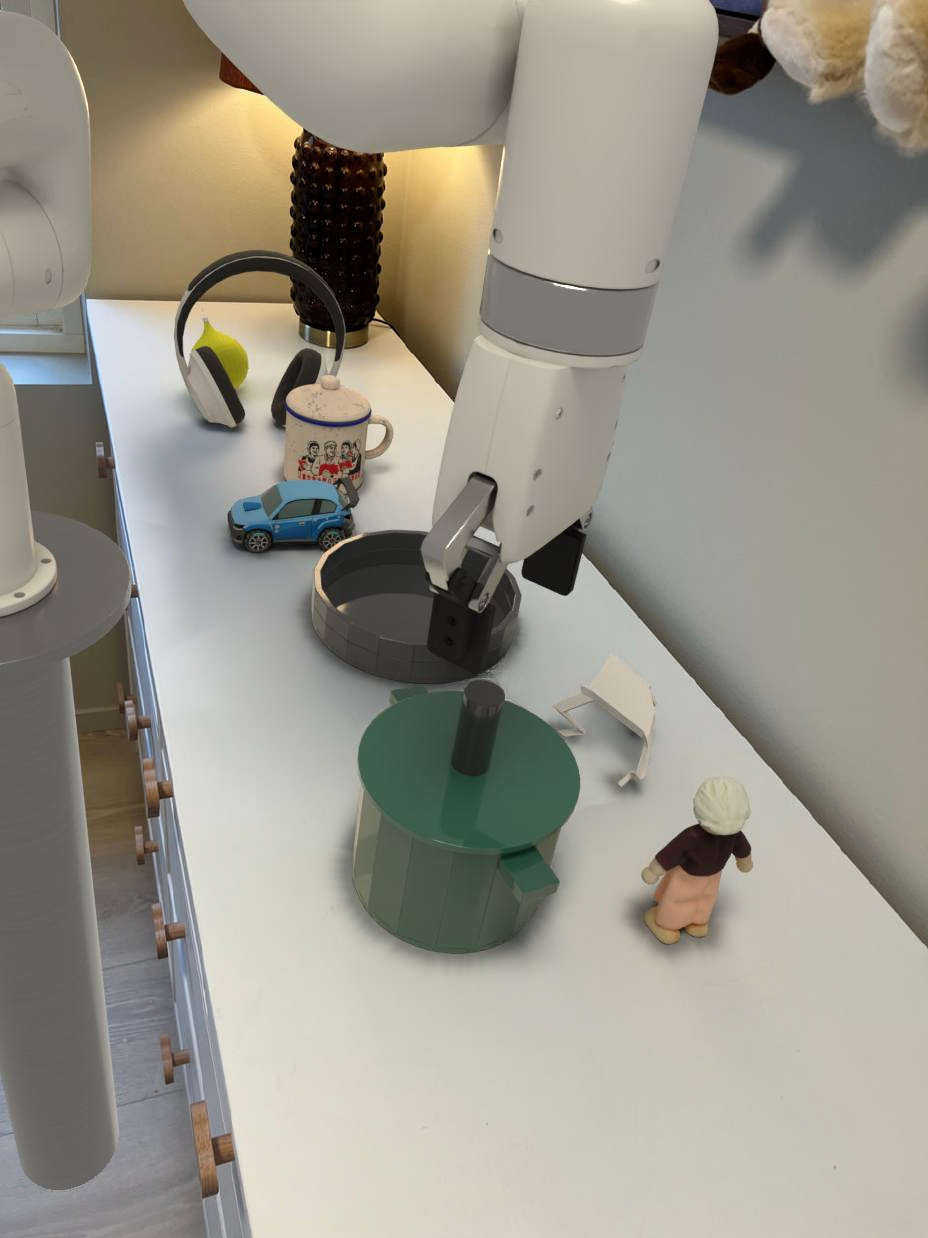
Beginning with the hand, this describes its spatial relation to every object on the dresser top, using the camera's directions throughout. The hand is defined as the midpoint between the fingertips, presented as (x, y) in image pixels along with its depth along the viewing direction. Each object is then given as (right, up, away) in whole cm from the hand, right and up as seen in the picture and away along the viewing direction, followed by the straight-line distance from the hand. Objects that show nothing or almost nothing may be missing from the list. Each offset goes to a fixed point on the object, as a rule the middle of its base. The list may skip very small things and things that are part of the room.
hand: (503, 620), depth 53 cm
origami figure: (+9, -10, +25) cm, 28 cm away
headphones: (-27, +23, +64) cm, 73 cm away
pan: (-7, 0, +35) cm, 36 cm away
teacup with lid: (-16, +15, +55) cm, 60 cm away
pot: (-3, -17, +12) cm, 21 cm away
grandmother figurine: (+11, -20, +11) cm, 26 cm away
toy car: (-19, +8, +43) cm, 48 cm away
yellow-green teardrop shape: (-33, +29, +70) cm, 82 cm away
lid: (-2, -9, +6) cm, 11 cm away
